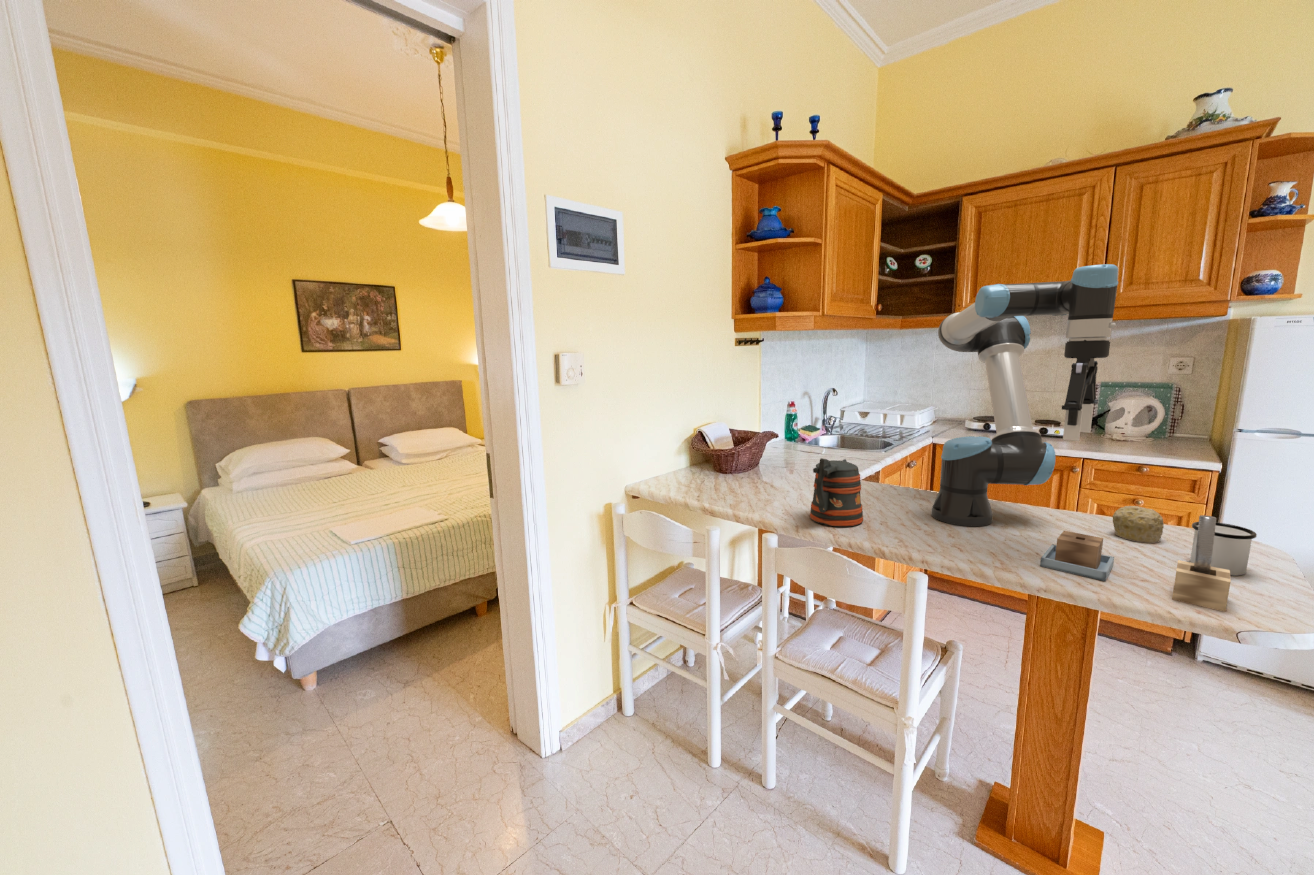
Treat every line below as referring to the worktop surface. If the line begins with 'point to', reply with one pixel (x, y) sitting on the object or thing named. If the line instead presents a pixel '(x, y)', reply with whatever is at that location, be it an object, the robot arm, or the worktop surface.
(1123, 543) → the worktop surface
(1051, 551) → the tray
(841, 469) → the beer stein
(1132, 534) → the coral
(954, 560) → the worktop surface
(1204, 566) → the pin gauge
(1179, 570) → the oak block
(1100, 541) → the walnut block
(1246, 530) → the mug
